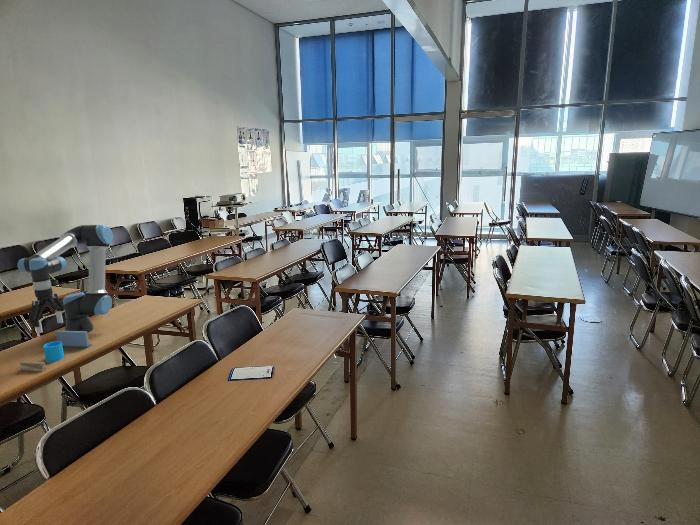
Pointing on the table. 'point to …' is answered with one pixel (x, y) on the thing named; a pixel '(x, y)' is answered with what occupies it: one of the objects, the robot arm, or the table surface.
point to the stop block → (32, 366)
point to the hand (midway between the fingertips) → (50, 327)
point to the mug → (53, 351)
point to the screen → (73, 338)
